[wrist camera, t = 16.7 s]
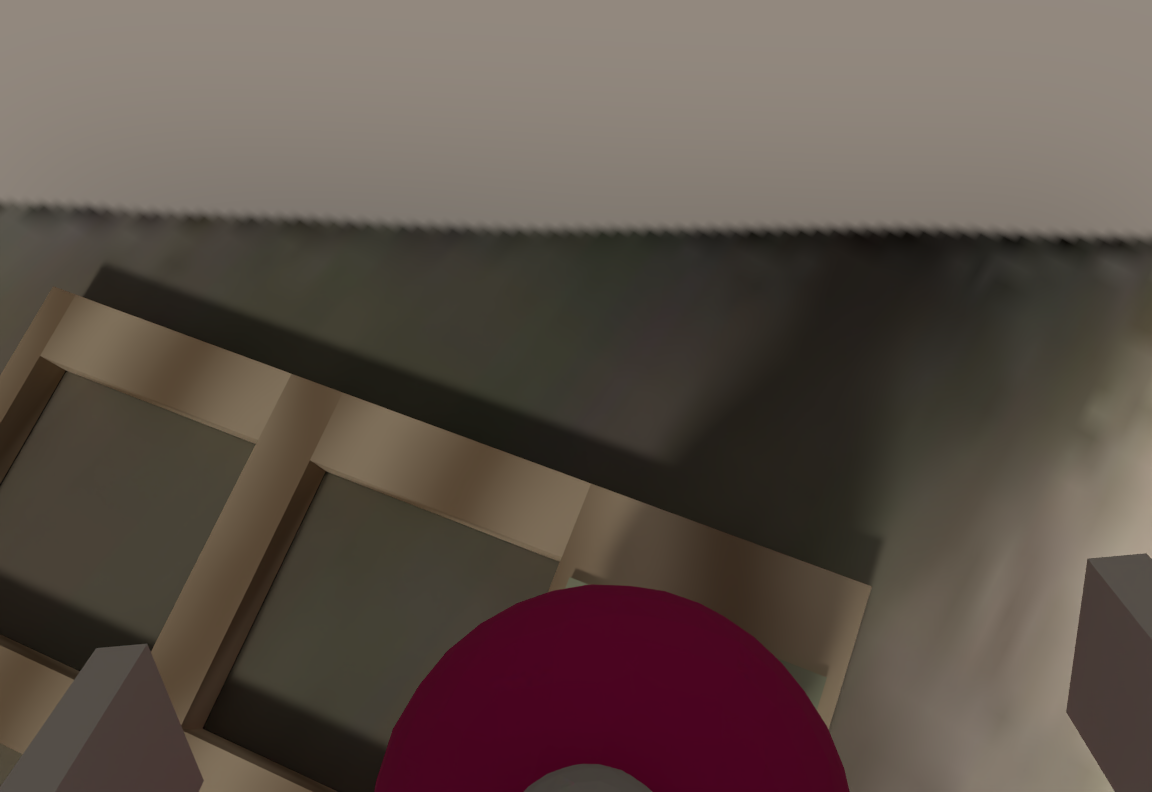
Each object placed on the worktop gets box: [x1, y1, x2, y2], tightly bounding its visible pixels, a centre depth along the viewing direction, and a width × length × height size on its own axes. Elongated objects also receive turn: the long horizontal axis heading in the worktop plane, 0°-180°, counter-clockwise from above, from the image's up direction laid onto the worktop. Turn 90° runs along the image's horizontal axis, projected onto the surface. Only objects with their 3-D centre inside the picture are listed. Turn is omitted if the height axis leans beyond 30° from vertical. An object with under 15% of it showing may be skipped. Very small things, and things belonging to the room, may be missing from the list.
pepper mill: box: [374, 584, 849, 792], centre depth 17 cm, size 7×7×20 cm
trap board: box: [0, 287, 872, 792], centre depth 30 cm, size 30×14×2 cm, turn 68°
